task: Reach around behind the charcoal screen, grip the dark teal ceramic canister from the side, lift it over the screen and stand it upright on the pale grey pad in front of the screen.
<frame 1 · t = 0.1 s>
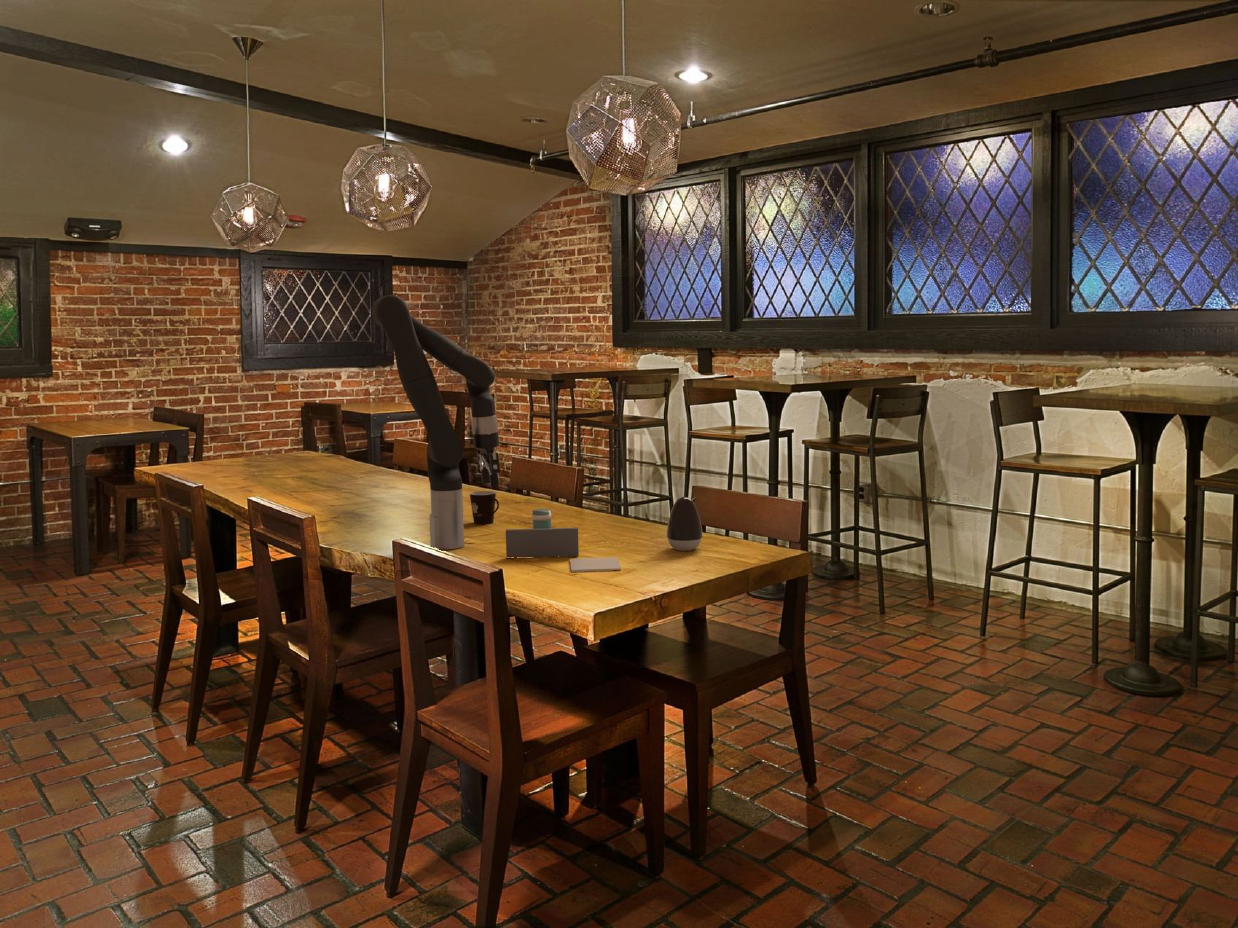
hand: (490, 485, 295), 17 cm above the table, tool pointing down, fingers open, 8 cm apart
canister: (542, 551, 284), on the table
coffee mug: (484, 524, 327), on the table
black egg-shaped body: (684, 549, 285), on the table
pad: (595, 565, 266), on the table
screen: (542, 557, 277), on the table
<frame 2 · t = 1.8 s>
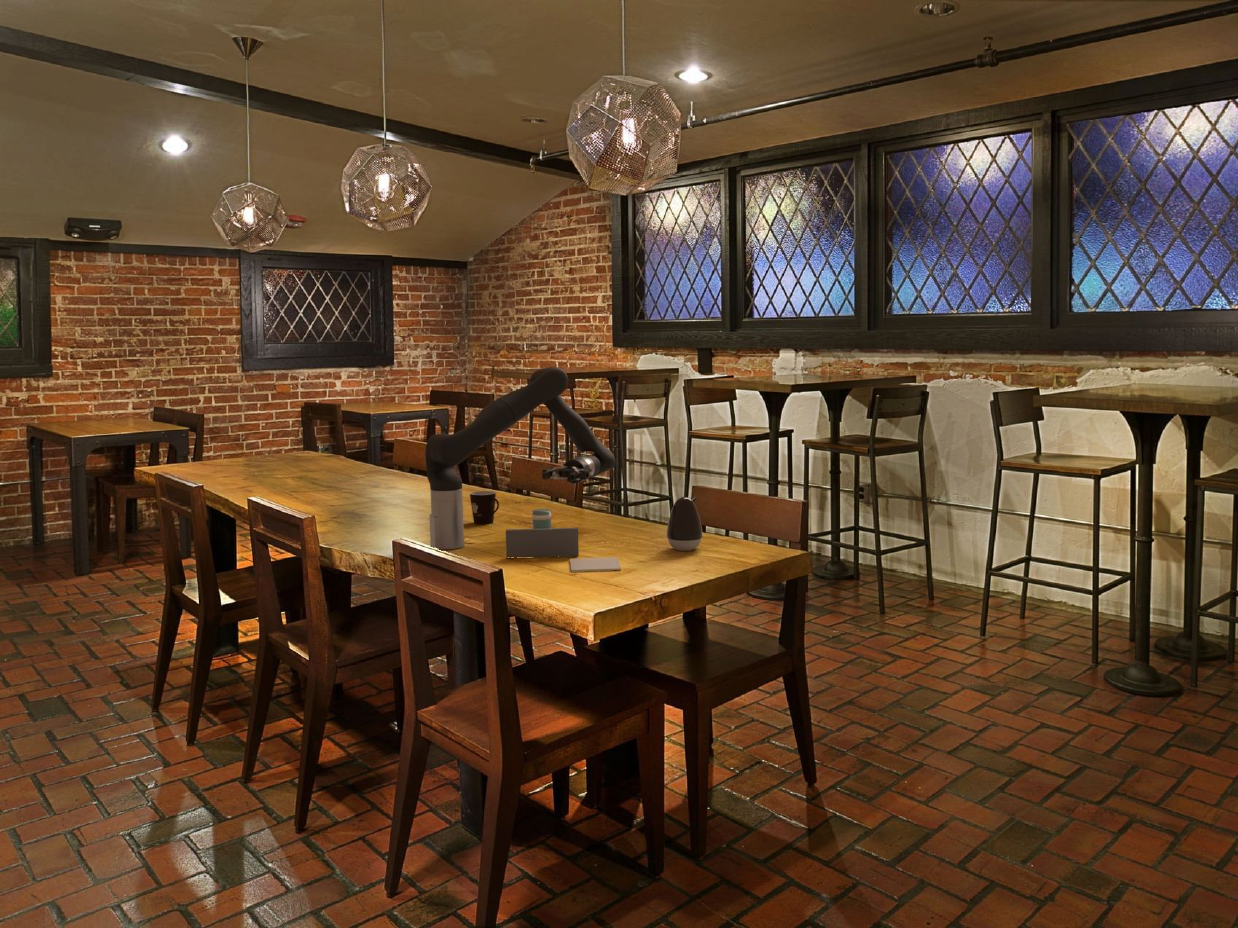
hand: (557, 476, 291), 20 cm above the table, tool horizontal, fingers open, 8 cm apart
nothing on the table moved.
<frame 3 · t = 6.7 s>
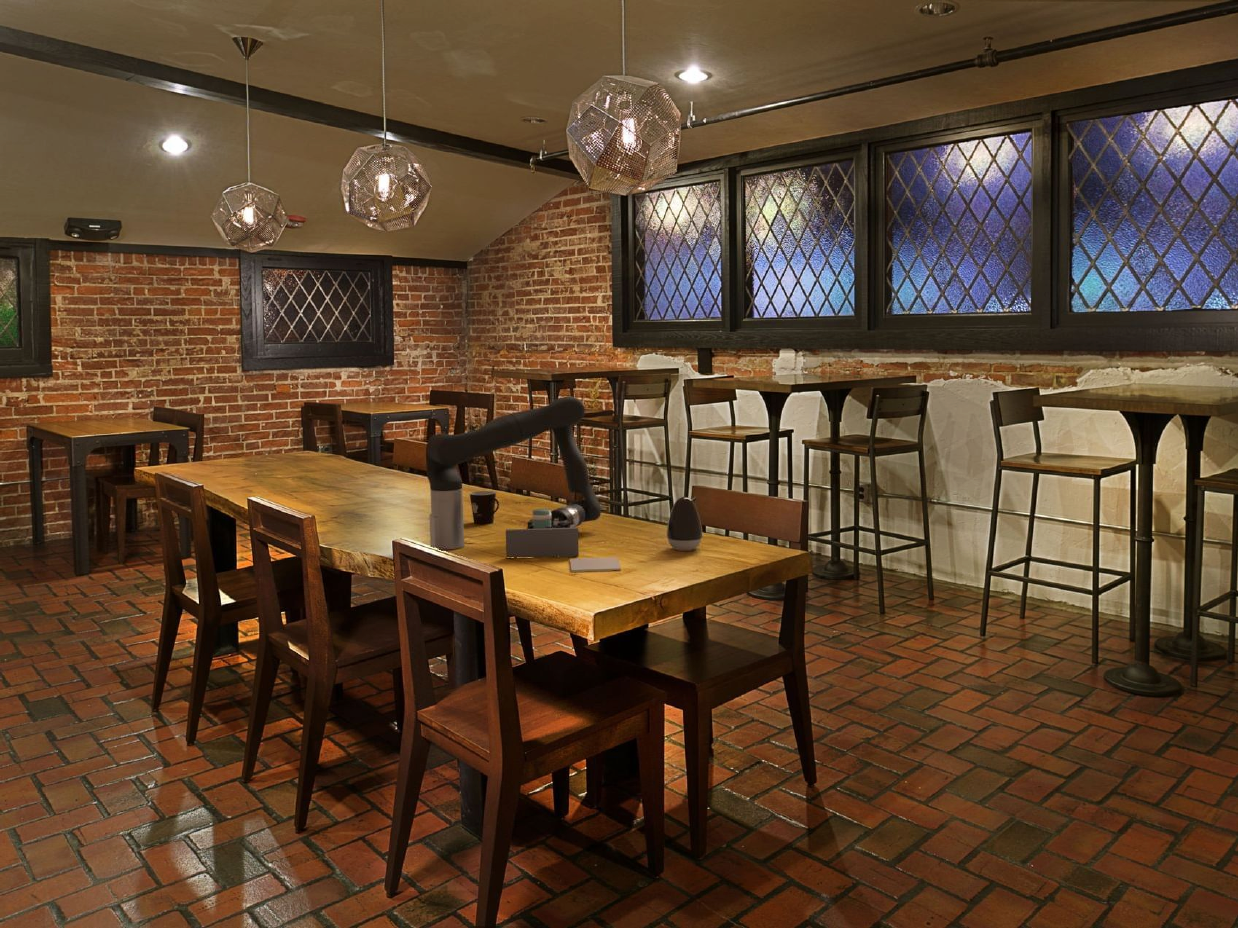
hand: (538, 530, 280), 7 cm above the table, tool horizontal, fingers closed on canister, 5 cm apart
canister: (542, 551, 284), on the table, touching gripper
everything else where it was.
when the fingers open (8 cm above the table, at t = 13.1 s): canister drops 1 cm, resting on pad.
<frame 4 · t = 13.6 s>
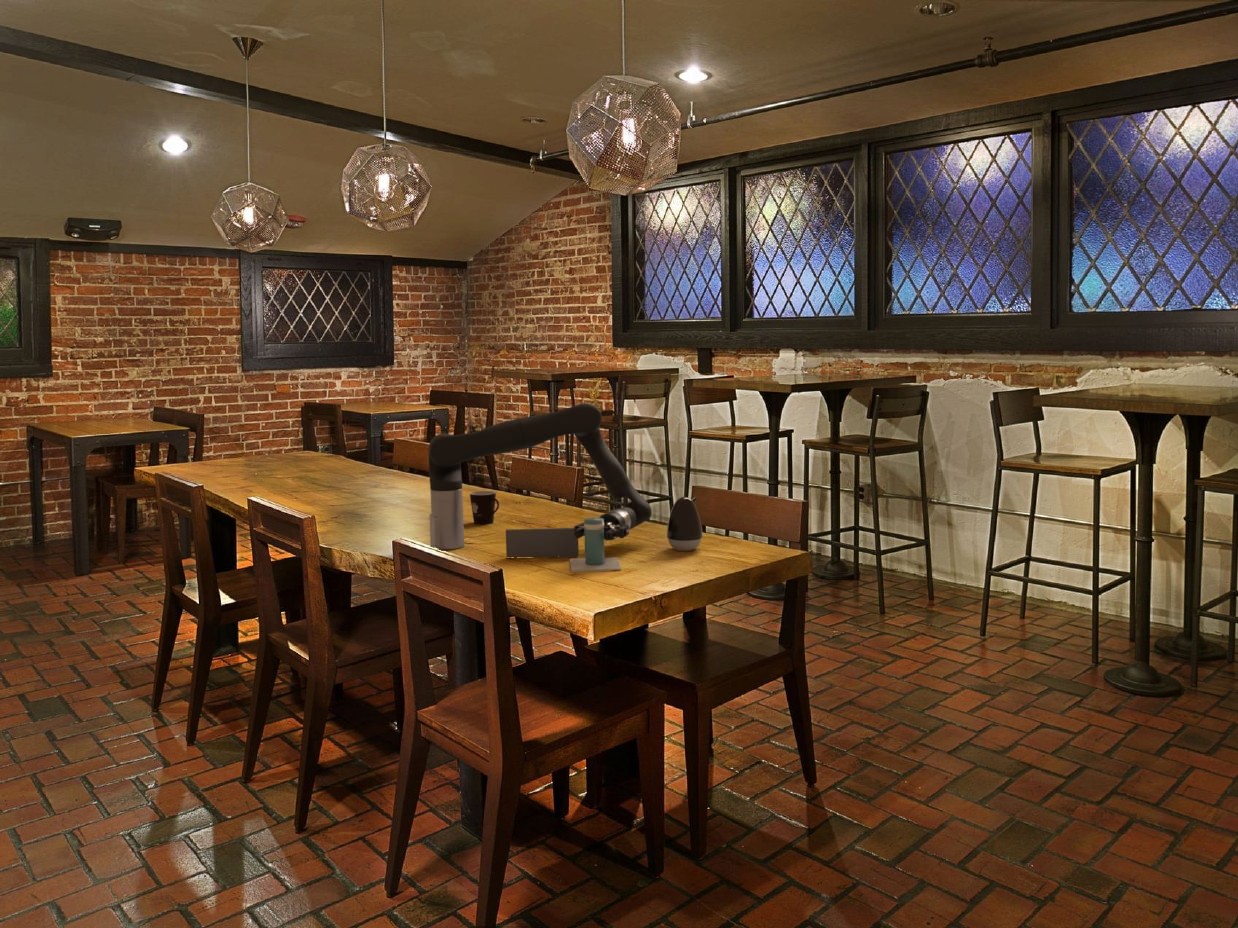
hand: (591, 535, 263), 9 cm above the table, tool horizontal, fingers open, 8 cm apart
canister: (594, 563, 266), point 1 cm above the table, touching pad
everything else where it was.
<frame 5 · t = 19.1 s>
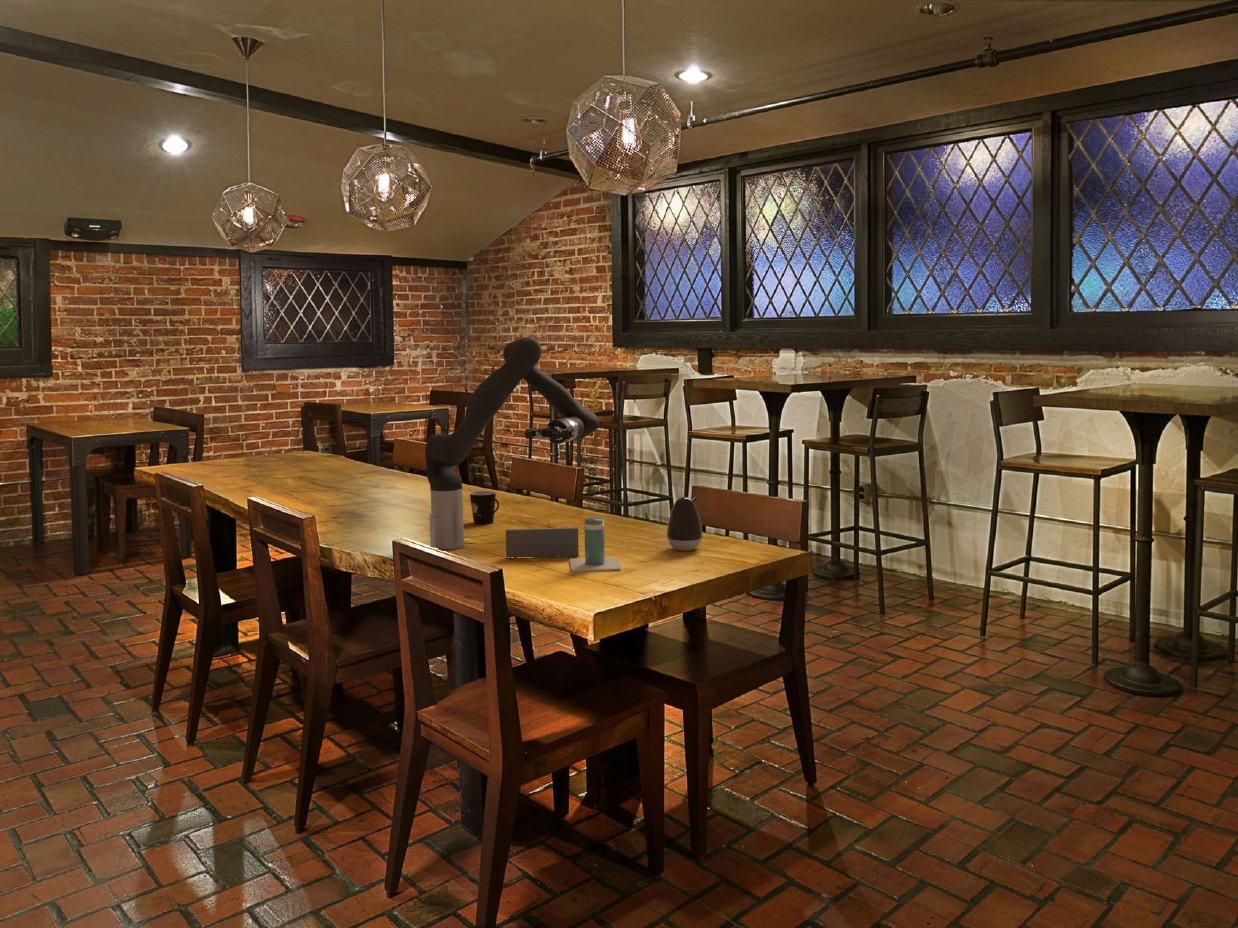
hand: (539, 435, 292), 32 cm above the table, tool horizontal, fingers open, 8 cm apart
nothing on the table moved.
at the end: canister inside the target area on the pad (0.2 cm from its centre), point 0.6 cm above the pad's base; canister tilted 1°; the gripper is holding nothing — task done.
